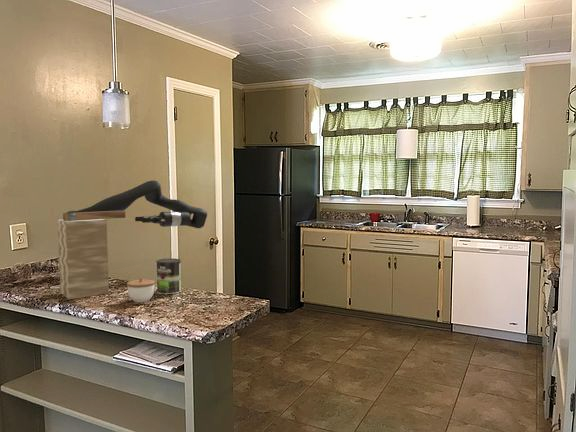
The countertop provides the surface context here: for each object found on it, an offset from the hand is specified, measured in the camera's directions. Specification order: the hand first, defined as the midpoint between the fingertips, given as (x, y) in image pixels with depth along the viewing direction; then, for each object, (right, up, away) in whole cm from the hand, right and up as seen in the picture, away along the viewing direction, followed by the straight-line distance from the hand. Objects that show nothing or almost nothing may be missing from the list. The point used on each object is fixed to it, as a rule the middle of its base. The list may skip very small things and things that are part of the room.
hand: (138, 219), depth 226 cm
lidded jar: (+12, -33, -35) cm, 50 cm away
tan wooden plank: (-12, +1, -22) cm, 25 cm away
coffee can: (+20, -32, -21) cm, 43 cm away
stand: (-16, -32, -23) cm, 42 cm away
